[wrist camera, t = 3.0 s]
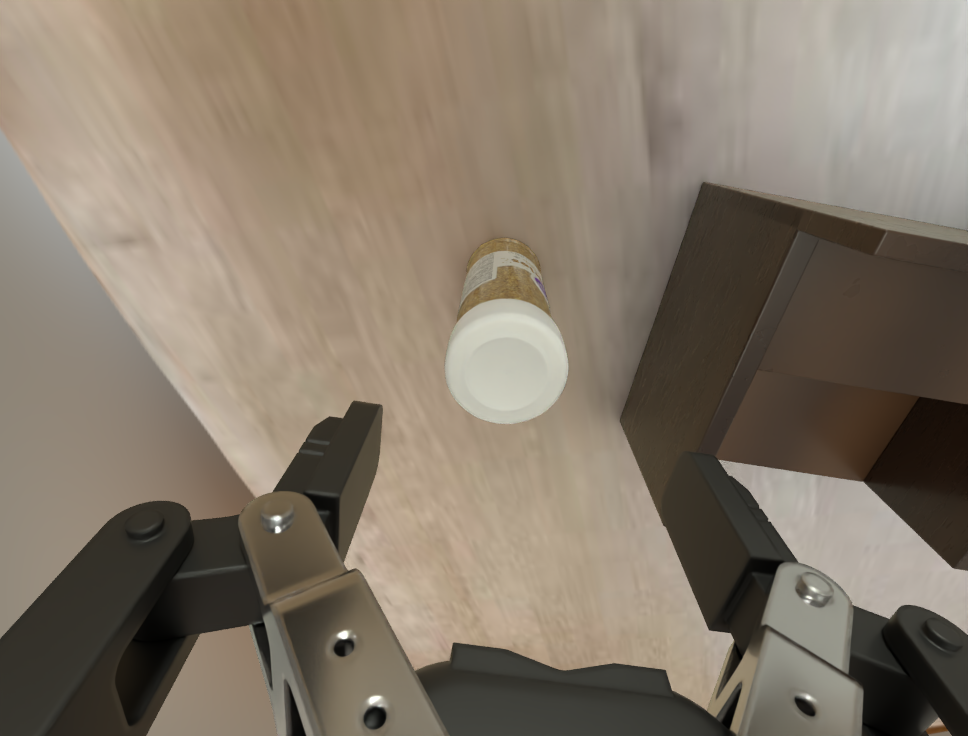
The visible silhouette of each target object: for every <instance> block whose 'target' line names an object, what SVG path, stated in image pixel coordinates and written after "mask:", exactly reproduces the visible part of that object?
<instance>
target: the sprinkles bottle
mask: <svg viewBox="0 0 968 736" xmlns="http://www.w3.org/2000/svg"><path fill="white" fill-rule="evenodd" d="M567 377H568V358H567V352H566V348H565V344H564V341H563V338H562V335H561V333H560V330H559V329H558V327H557V325H556V324H555V322H554V321H553V320H552V318H551V315H550V307H549V303H548V300H547V296H546V293H545V288H544V284H543V280H542V277H541V270H540V264H539V261H538V260H537V258H536V255H535V254H534V253H533V251H532V250H531V249H530V248H529V247H528V246H526V245H525V244H523V243H521V242H519V241H517V240H515V239H509V238H500V239H494V240H491V241H488V242H486V243H484V244H482V245H481V246H480V247H479V248H478V249H477V250H476V251H475V252H474V253H473V255H472V256H471V258H470V260H469V263H468V265H467V276H466V280H465V283H464V287H463V292H462V297H461V301H460V306H459V310H458V315H457V324H456V325H455V327H454V329H453V331H452V333H451V336H450V339H449V342H448V347H447V352H446V358H445V378H446V382H447V385H448V388H449V390H450V392H451V394H452V396H453V397H454V399H455V400H456V401H457V402H458V404H459V405H460V406H461V407H462V408H464V409H465V410H466V411H467V412H469V413H470V414H472V415H474V416H475V417H477V418H479V419H482V420H485V421H488V422H492V423H499V424H515V423H520V422H524V421H528V420H531V419H533V418H535V417H537V416H539V415H541V414H542V413H544V412H545V411H546V410H548V409H549V408H550V407H551V406H552V405H553V404H554V403H555V402H556V401H557V399H558V398H559V396H560V395H561V393H562V391H563V390H564V387H565V385H566V381H567Z"/></svg>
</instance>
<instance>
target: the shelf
mask: <svg viewBox="0 0 968 736" xmlns="http://www.w3.org/2000/svg"><path fill="white" fill-rule="evenodd" d="M620 423H621V425H622V428H623V430H624V432H625V435H626V437H627V440H628V442H629V444H630V447H631V449H632V451H633V454H634V456H635V459H636V461H637V463H638V466H639V468H640V471H641V473H642V475H643V478H644V480H645V483H646V485H647V487H648V490H649V492H650V495H651V497H652V499H653V502H654V504H655V507H656V509H657V511H658V514H659V516H660V518H661V521H662V523H663V525H664V526H665V524H664V521H663V519H662V515H661V499H662V495H663V493H664V490H665V488H666V485H667V483H668V480H669V478H670V476H671V473H672V471H673V468H674V466H675V464H676V461H677V459H678V457H679V455H680V454H681V453H682V452H683V451H691V452H698V453H704V454H711V455H714V456H715V457H716V458H717V459H718V460H725V461H731V462H738V463H744V464H751V465H757V466H764V467H770V468H776V469H783V470H789V471H796V472H802V473H809V474H815V475H822V476H828V477H835V478H841V479H848V480H854V481H861V482H862V481H863V482H864V483H865V484H866V485H867V486H868V487H869V488H870V489H871V490H872V491H873V492H875V493H876V494H877V495H878V496H879V497H880V498H881V499H882V500H883V501H884V502H885V503H886V504H887V505H888V506H889V507H890V508H891V509H892V510H893V511H894V512H895V513H896V514H897V515H898V516H899V517H900V518H901V519H902V520H904V521H905V522H906V523H907V524H908V525H909V526H910V527H911V528H912V529H913V530H914V531H915V532H916V533H917V534H918V535H919V536H920V537H921V538H922V539H923V540H924V541H925V542H926V543H927V544H928V545H929V546H930V547H931V548H933V549H934V550H935V551H936V552H937V553H938V554H939V555H940V556H941V557H942V558H943V559H944V560H945V561H946V562H947V563H948V564H949V565H950V566H951V567H952V568H954V569H960V570H967V571H968V231H967V230H962V229H957V228H951V227H946V226H940V225H935V224H929V223H924V222H919V221H913V220H908V219H902V218H897V217H892V216H886V215H881V214H875V213H870V212H865V211H859V210H854V209H848V208H843V207H837V206H832V205H827V204H821V203H816V202H810V201H805V200H800V199H794V198H789V197H783V196H778V195H773V194H767V193H762V192H756V191H751V190H745V189H740V188H735V187H729V186H724V185H718V184H713V183H708V182H703V185H702V187H701V190H700V193H699V196H698V199H697V202H696V205H695V208H694V211H693V213H692V216H691V219H690V222H689V225H688V228H687V231H686V233H685V236H684V239H683V242H682V245H681V248H680V251H679V253H678V256H677V259H676V262H675V265H674V268H673V271H672V273H671V276H670V279H669V282H668V285H667V288H666V291H665V293H664V296H663V299H662V302H661V305H660V308H659V311H658V313H657V316H656V319H655V322H654V325H653V328H652V331H651V333H650V336H649V339H648V342H647V345H646V348H645V351H644V353H643V356H642V359H641V362H640V365H639V368H638V371H637V373H636V376H635V379H634V382H633V385H632V388H631V391H630V393H629V396H628V399H627V402H626V405H625V408H624V411H623V413H622V416H621V419H620ZM665 527H666V526H665Z"/></svg>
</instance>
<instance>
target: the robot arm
mask: <svg viewBox="0 0 968 736" xmlns="http://www.w3.org/2000/svg"><path fill="white" fill-rule="evenodd" d="M382 414H383V407H382V405H380V404H373V403H366V402H360V401H353V402H352V403H351V405H350V407H349V409H348V411H347V412H346V414H345V416H344V418H337V417H330V416H329V417H328V418H326V419H325V420H323V421H322V422H320V423H319V424H317V425H316V426H314V427H313V429H312V431H311V432H310V434H309V435H308V437H307V438H306V442H304V443H303V445H302V446H301V448H300V450H299V453H297V454H296V456H295V457H294V459H293V461H292V462H291V464H290V465H289V467H288V468H287V470H286V472H285V473H284V475H283V476H282V478H281V479H280V481H279V483H278V484H277V486H276V487H275V489H274V490H273V492H272V493H268V494H265V495H262V496H260V497H258V498H256V499H254V500H253V501H251V502H250V503H249V504H247V505H246V506H245V507H244V509H243V510H242V511H241V513H240V514H239V515H234V516H230V517H222V518H213V519H203V520H193V521H191V517H190V513H189V511H188V510H187V509H186V508H185V507H184V506H182V505H181V504H178V503H175V502H170V501H153V502H147V503H143V504H139V505H136V506H133V507H130V508H129V509H126V510H124V511H122V512H120V513H119V514H117V515H116V516H114V517H113V518H112V519H110V520H109V521H108V522H107V523H106V524H105V525H104V526H103V527H102V528H101V529H100V530H99V532H98V533H97V534H96V535H95V536H94V537H93V538H92V539H91V540H90V542H88V543H87V545H86V546H85V547H84V548H83V549H82V550H81V551H80V552H79V553H78V554H77V556H76V557H75V558H74V559H73V560H72V561H71V562H70V563H69V564H68V565H67V567H66V568H65V569H64V570H63V571H62V572H61V573H60V574H59V575H58V576H57V578H55V580H54V581H53V582H52V583H51V584H50V585H49V586H48V587H47V588H46V589H45V591H44V592H43V593H42V594H41V595H40V596H39V597H38V598H37V599H36V600H35V601H34V603H33V604H32V605H31V606H30V607H29V608H28V609H27V610H26V611H25V613H23V615H22V616H21V617H20V618H19V619H18V620H17V621H16V622H15V623H14V624H13V626H12V627H11V628H10V629H9V630H8V631H7V632H6V633H5V634H4V635H3V636H2V638H1V639H0V736H146V735H147V733H148V731H149V729H150V727H151V725H152V723H153V721H154V720H155V718H156V716H157V714H158V712H159V710H160V708H161V707H162V705H163V703H164V701H165V699H166V697H167V695H168V693H169V691H170V690H171V688H172V686H173V684H174V682H175V680H176V678H177V676H178V674H179V672H180V671H181V669H182V667H183V665H184V663H185V661H186V659H187V657H188V655H189V654H190V652H191V650H192V648H193V646H194V644H195V642H196V640H197V639H198V637H199V635H200V634H201V633H206V632H212V631H218V630H223V629H229V628H235V627H241V626H247V625H249V627H250V631H251V635H252V638H253V642H254V645H255V649H256V652H257V656H258V659H259V663H260V666H261V670H262V673H263V676H264V680H265V684H266V687H267V690H268V694H269V697H270V701H271V705H272V709H273V714H274V719H275V725H276V730H277V735H278V736H929V735H928V734H927V732H926V731H925V730H926V729H927V728H928V727H929V726H930V725H931V724H932V723H933V722H934V721H935V720H936V719H937V718H938V717H939V718H940V719H941V721H942V722H943V724H944V725H945V726H946V728H947V729H948V731H949V732H950V734H951V735H952V736H968V635H967V634H966V633H965V632H963V631H962V630H961V629H960V628H958V627H957V626H956V625H954V624H953V623H951V622H950V621H948V620H947V619H945V618H943V617H942V616H940V615H938V614H936V613H934V612H932V611H930V610H927V609H924V608H922V607H918V606H913V605H904V606H901V607H900V608H898V610H897V611H896V612H895V613H894V615H893V616H892V617H891V618H890V619H888V618H885V617H882V616H880V615H877V614H874V613H872V612H869V611H867V610H864V609H861V608H859V607H856V606H853V605H852V602H851V600H850V599H849V597H848V595H847V594H846V593H845V592H844V590H843V589H842V588H841V587H840V586H839V585H838V584H837V583H836V582H834V581H833V580H832V579H831V578H829V577H828V576H826V575H825V574H824V573H822V572H820V571H818V570H816V569H814V568H812V567H810V566H808V565H805V564H801V563H799V562H798V561H797V560H796V558H795V557H794V555H793V554H792V552H791V551H790V549H789V548H788V547H787V545H786V544H785V542H784V541H783V539H782V538H781V537H780V535H779V534H778V532H777V531H776V529H775V528H774V526H773V525H772V524H771V522H768V518H767V516H766V515H765V513H764V512H763V511H762V509H759V505H758V503H757V502H756V500H755V499H754V498H753V496H752V495H751V493H750V492H749V491H748V490H747V489H746V488H745V487H744V486H743V485H741V484H740V483H739V482H738V481H737V480H736V479H734V478H733V477H732V476H728V474H727V473H726V471H725V470H724V468H723V467H722V465H721V464H720V462H719V461H718V459H717V458H716V457H715V456H714V455H711V454H704V453H698V452H691V451H683V452H682V453H681V454H680V455H679V457H678V459H677V461H676V464H675V466H674V468H673V471H672V473H671V476H670V478H669V480H668V483H667V485H666V488H665V490H664V493H663V495H662V499H661V515H662V519H663V521H664V524H665V526H666V528H667V531H668V533H669V536H670V538H671V540H672V543H673V545H674V548H675V550H676V552H677V555H678V557H679V559H680V562H681V564H682V567H683V569H684V571H685V574H686V576H687V579H688V581H689V583H690V586H691V588H692V591H693V593H694V595H695V598H696V600H697V602H698V605H699V607H700V610H701V612H702V614H703V617H704V619H705V622H706V624H707V626H708V629H709V630H711V631H718V632H726V633H731V634H732V636H733V639H734V641H733V643H732V644H731V646H730V648H729V650H728V652H727V655H726V658H725V661H724V663H723V666H722V669H721V672H720V675H719V677H718V680H717V683H716V686H715V689H714V692H713V694H712V697H711V700H710V703H709V706H708V709H707V711H706V710H705V709H703V708H702V707H701V706H699V705H698V704H696V703H694V702H693V701H691V700H690V699H688V698H686V697H684V696H682V695H680V694H678V693H676V692H674V691H672V689H671V686H670V683H669V680H668V676H667V673H666V670H662V669H654V668H646V667H638V666H631V665H623V664H615V663H613V664H607V665H600V666H593V667H587V668H580V669H574V670H567V671H563V670H558V669H555V668H552V667H550V666H547V665H545V664H542V663H540V662H537V661H535V660H532V659H529V658H527V657H524V656H522V655H519V654H517V653H514V652H512V651H509V650H506V649H499V648H492V647H484V646H476V645H469V644H461V643H453V647H452V652H451V657H450V661H444V662H438V663H435V664H432V665H428V666H425V667H423V668H420V669H418V670H416V671H414V669H413V667H412V665H411V663H410V661H409V659H408V658H407V656H406V654H405V652H404V650H403V648H402V646H401V644H400V643H399V641H398V639H397V637H396V635H395V633H394V631H393V630H392V628H391V626H390V624H389V622H388V620H387V618H386V617H385V615H384V613H383V611H382V609H381V607H380V605H379V604H378V602H377V600H376V598H375V596H374V594H373V592H372V590H371V589H370V587H369V585H368V583H367V581H366V579H365V578H364V576H363V574H362V573H361V572H360V571H359V570H358V569H352V570H350V571H348V570H347V568H346V567H345V565H344V560H345V557H346V555H347V552H348V549H349V546H350V544H351V541H352V538H353V535H354V533H355V530H356V527H357V524H358V522H359V519H360V516H361V513H362V511H363V508H364V505H365V503H366V500H367V497H368V494H369V492H370V489H371V486H372V483H373V481H374V478H375V475H376V471H377V467H378V462H379V455H380V442H381V428H382Z"/></svg>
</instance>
